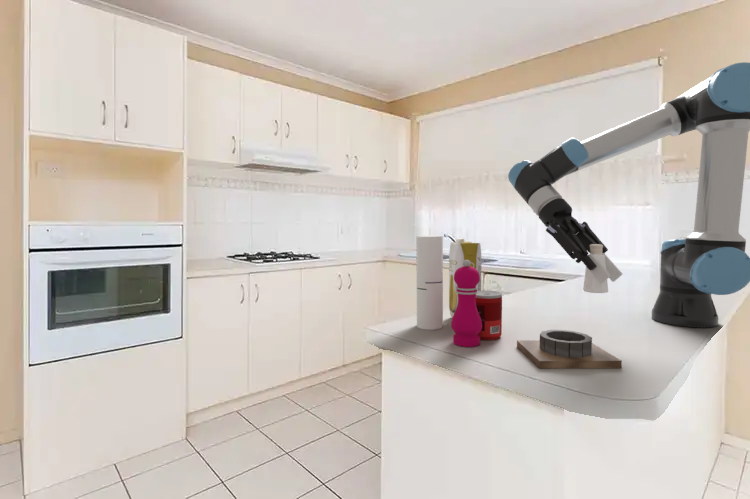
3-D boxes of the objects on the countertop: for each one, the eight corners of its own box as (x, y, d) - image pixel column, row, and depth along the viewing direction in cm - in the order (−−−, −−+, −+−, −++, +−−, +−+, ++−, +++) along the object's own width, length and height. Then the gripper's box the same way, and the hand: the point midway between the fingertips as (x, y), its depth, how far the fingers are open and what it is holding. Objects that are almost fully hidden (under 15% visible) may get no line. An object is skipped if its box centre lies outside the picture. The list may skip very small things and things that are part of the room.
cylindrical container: (442, 330, 112) (442, 236, 110) (415, 329, 113) (415, 236, 111) (443, 323, 119) (443, 235, 117) (418, 322, 120) (417, 235, 118)
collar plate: (587, 346, 96) (587, 327, 96) (621, 368, 82) (622, 345, 82) (516, 346, 96) (517, 327, 96) (539, 368, 82) (539, 346, 82)
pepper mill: (447, 339, 103) (447, 258, 101) (476, 338, 104) (476, 258, 102) (455, 348, 96) (456, 261, 94) (486, 347, 96) (487, 260, 95)
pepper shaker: (579, 291, 98) (580, 244, 97) (586, 288, 102) (587, 243, 101) (605, 294, 94) (605, 245, 94) (611, 290, 98) (612, 244, 97)
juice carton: (447, 316, 127) (447, 237, 125) (472, 315, 128) (472, 237, 126) (456, 324, 117) (456, 239, 116) (483, 323, 118) (484, 238, 117)
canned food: (503, 333, 108) (504, 291, 107) (498, 342, 100) (499, 296, 99) (473, 330, 111) (473, 289, 110) (467, 338, 103) (467, 294, 103)
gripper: (562, 217, 114) (621, 285, 101) (519, 218, 106) (577, 292, 93) (580, 197, 109) (645, 265, 96) (536, 196, 101) (600, 271, 88)
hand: (611, 278), depth 95 cm, fingers closed on pepper shaker, 4 cm apart
